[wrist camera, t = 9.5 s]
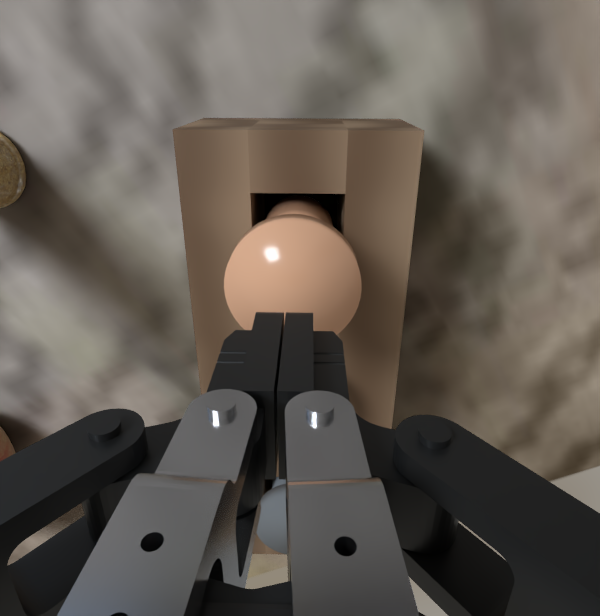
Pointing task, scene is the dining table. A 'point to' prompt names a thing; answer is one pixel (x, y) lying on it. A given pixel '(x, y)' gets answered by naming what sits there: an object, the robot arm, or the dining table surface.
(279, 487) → the charcoal plug
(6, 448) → the apple
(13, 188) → the sprinkles bottle
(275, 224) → the terracotta plug
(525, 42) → the dining table surface
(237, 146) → the walnut block
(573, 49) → the dining table surface
